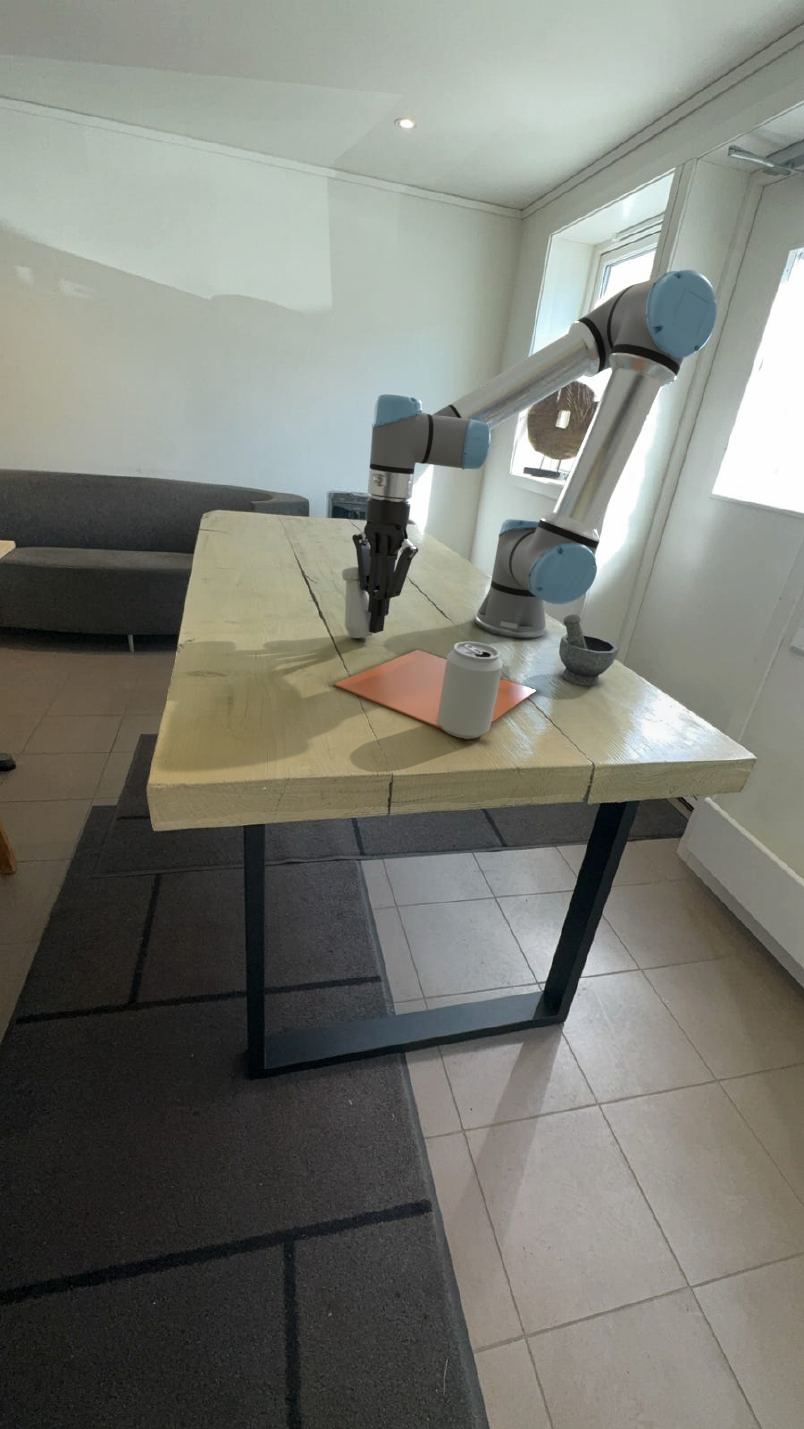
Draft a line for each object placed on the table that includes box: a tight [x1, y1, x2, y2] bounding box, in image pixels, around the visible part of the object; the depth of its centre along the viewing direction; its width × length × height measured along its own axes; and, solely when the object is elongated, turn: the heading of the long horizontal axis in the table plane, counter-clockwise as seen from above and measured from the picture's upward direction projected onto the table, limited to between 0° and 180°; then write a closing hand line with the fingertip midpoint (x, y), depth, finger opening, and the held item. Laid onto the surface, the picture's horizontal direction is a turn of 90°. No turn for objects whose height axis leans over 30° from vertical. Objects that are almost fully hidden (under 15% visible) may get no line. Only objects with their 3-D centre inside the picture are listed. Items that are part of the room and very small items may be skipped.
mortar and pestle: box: [558, 613, 619, 687], centre depth 104 cm, size 11×9×12 cm
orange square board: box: [333, 649, 537, 741], centre depth 95 cm, size 24×24×1 cm
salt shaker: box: [341, 565, 373, 639], centre depth 110 cm, size 6×6×13 cm
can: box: [437, 641, 504, 739], centre depth 80 cm, size 8×8×12 cm
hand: (376, 631), depth 110 cm, fingers closed
